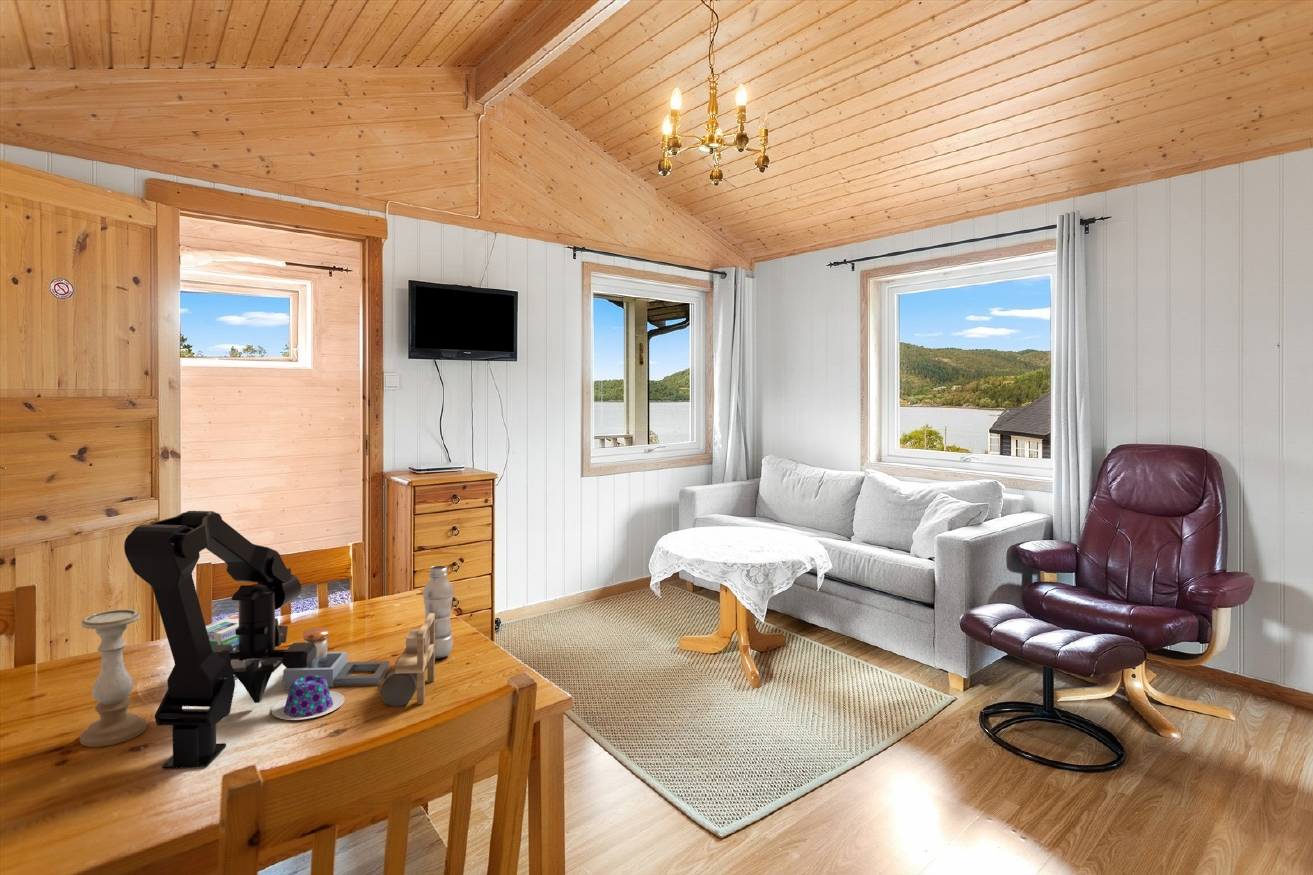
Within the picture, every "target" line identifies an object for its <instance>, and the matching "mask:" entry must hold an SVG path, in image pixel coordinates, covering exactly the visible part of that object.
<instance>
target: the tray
mask: <svg viewBox="0 0 1313 875" xmlns="http://www.w3.org/2000/svg"><path fill="white" fill-rule="evenodd" d="M348 656H349V654H348V651H327V668H305V667H304V668H286V667H285V668H284V669H283V671H282V673H283V676H282V677H283V682H282V684H283V685H282V686H283V690H284V689H290V686H291V684H292V683H293V682H294V681H295V680H296V679H300V678H301V677H305V676H312V675H317V676H323V677H324V678H325V679H326V681H327V684H328V688H334V687H335V686H334V679H335V677H336V676H337V675H338V674H339V672H340V671H341V670H342V669H343V667H344V666H345V665H346V664H347V663H348V662H349V658H348Z"/></svg>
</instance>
